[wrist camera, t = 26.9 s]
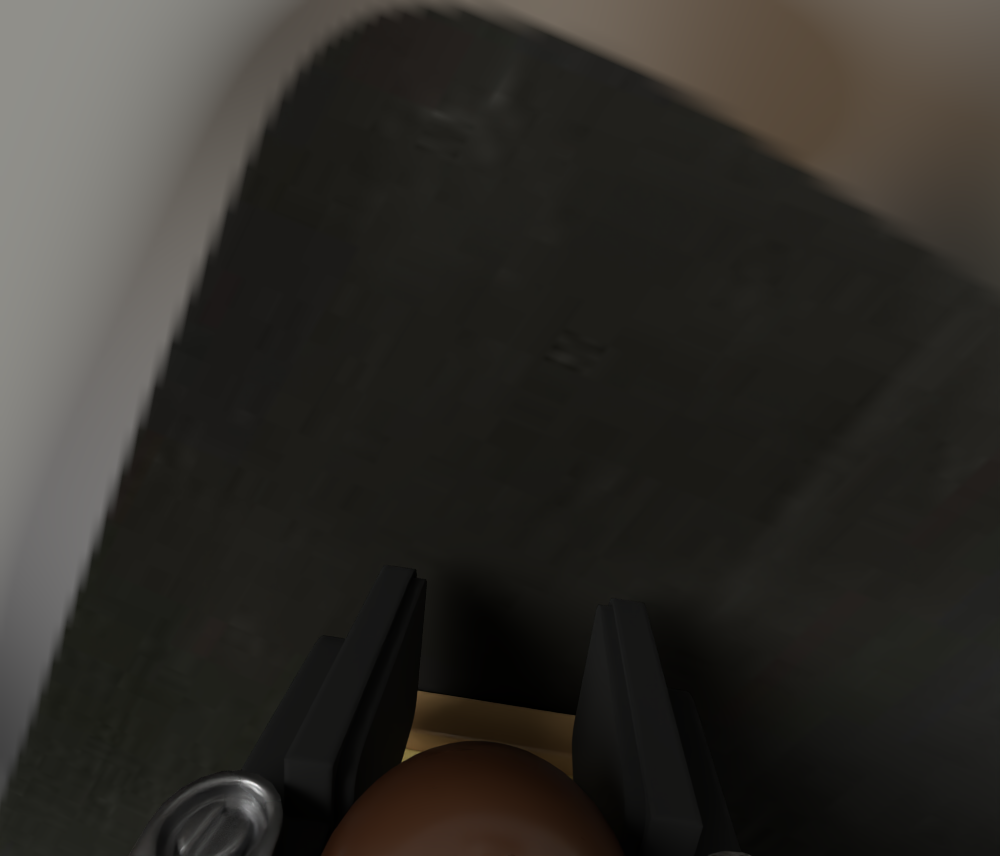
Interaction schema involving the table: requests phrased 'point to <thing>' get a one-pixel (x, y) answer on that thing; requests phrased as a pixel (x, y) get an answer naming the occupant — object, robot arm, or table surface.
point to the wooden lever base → (492, 727)
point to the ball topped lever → (474, 808)
